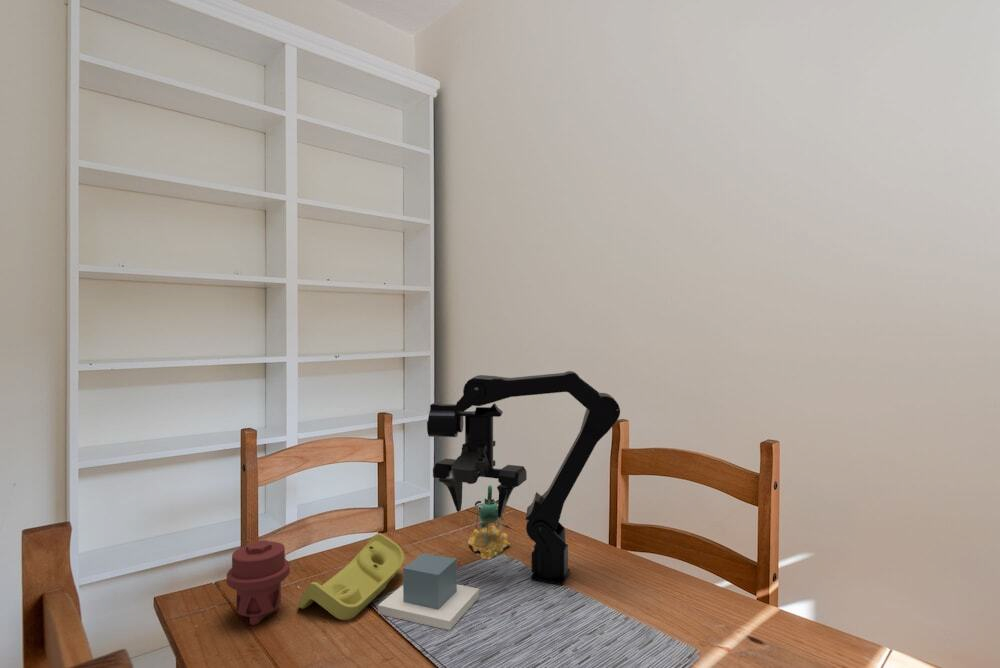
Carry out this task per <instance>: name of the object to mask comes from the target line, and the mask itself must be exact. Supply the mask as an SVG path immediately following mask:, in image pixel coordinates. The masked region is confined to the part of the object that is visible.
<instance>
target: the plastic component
mask: <svg viewBox="0 0 1000 668" xmlns="http://www.w3.org/2000/svg"><path fill="white" fill-rule="evenodd" d="M404 561H405V554H404V551H403V549H402V548H401V546H399V545H398V543H396V542H395V541H394V540H392V539H391V538H389V537H388V536H386V535H384V534H383V533H382V532H379V533H376V534H374V535H372V537H371V538H370V540H369V541H368V542H367V543H366V545H364V546H363V548H362V549H361V550H360V551H359V552H358V553H357V555H355V556H354V558H352V560H351V561H350V562H348V563H347V564H346V566H345V567H344V568H343V569H341V570H340V571H338V572H337V573H335V575H333V576H332V577H331V578H329V579H328V580H327V581H326V582H324V584H320V583H319V582H316V581H312V582H311V583H309V585H307V587H306V588H305V590H304V592H303V593H302V595H301V597H300V599H299V600H298V602H297V607H298V608H300V609H302V610H303V609H306V608H308V607H309V606H311V605H312V604H313V603H314V602H315V603H317V604H318V605H319V606H320V607H322V608H323V609H324V610H326V611H328V613H329V614H331V615H332V616H333V617H334V618H336V619H338V620H341V621H349V620H353V618H355V617H357V615H359V613H361V612H362V611H363V610H364V609H365V608H366V607H367V606H368V605H369V604H370V603H371V602H373V601H374V599H375V598H377V596H378V595H380V594H381V592H383V591H384V590H385V589H386V587H387V586H388V583H390V581H391V580H392V579H393V578H394V577H395V575H397V573H398V571H399V570H400V568H401V567H402V565H403V564H404Z"/></svg>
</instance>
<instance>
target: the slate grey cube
mask: <svg viewBox="0 0 1000 668" xmlns="http://www.w3.org/2000/svg"><path fill="white" fill-rule="evenodd" d="M457 561H458V560H457V558H454V557H448V556H443V555H437V554H432V553H427V552H423V553H421V554H420V555H419V556H417V557H415V559H414V560H412V561H411V562H409V563H408V564H407V565H405V566H404V567H403V568H402V573H403V574H402V577H403V579H402V580H403V581H402V583H403V584H402V585H403V602H406V603H410V604H415V605H419V606H424V607H428V608H433V609H437V610H439V609H440V608H441V607H442V606H443V605H444V604H445V603H446V602H447V601H448V600H449V599H450V598H451V597H452V596H453V595H454V594H455V593H456V592H457V584H458V583H457V582H458V581H457V579H458V577H457V575H458V573H457V571H458V569H457V568H458V566H457V565H458V564H457V563H458V562H457Z"/></svg>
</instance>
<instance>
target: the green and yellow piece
mask: <svg viewBox="0 0 1000 668" xmlns="http://www.w3.org/2000/svg"><path fill="white" fill-rule="evenodd" d="M492 497H493V486H492V485H490V484H488V486H487V498H486V497H485V498H484V499H483V500H484V502H483V503H482V501H481V500H477V501H476V502H475V503H474V506H475V507H476V509H477V515H476V516H477V517H476V519H475V521H476V522H478V519H480V520H479V523H480V526H479V527H480V528H479V530H478V523H476V525H475V528H474V529H473V532H471V534H470V536H469V539H468V542H467V544H468V545H469V546H471V549H473V551H474V552H477V551H478V552H480V558H481V559H482V560H484V559H485V560H486V559H487V560H492V559H494V557H495V556H498V555H500V554H502V552H503V551H504V548H505V549H506V548H507V547H509V546H510V545H511V543H510V542H509V540H508V539H509V538H508V534H507V533H506V532H502V530H500V522H503V528H506V525H505V519H504V518H503V516H502V517H500V519H501V520H500V519H499V517H498V500H499V499H497V500H496V501H495V498H492ZM478 517H479V518H478ZM493 523H494V525H493ZM497 523H498V524H497Z"/></svg>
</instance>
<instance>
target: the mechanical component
mask: <svg viewBox="0 0 1000 668" xmlns="http://www.w3.org/2000/svg"><path fill="white" fill-rule="evenodd" d="M285 547H286V546H285V545H284V544H283V543H280V542H278V541H270V540H265V539H264V540H263V539H262V540H260V539H259V540H256V541H252V542H250V543H248V544H246V545H244V546H241V547H239V548H237V549H236V550H235V551H234V552H233V553H232V554H231V568H230V569H229V570H228V571H227V573H226V585H227V586H228V587H229V588H231V589H233V590H235V591H236V613H237V614H239V615H240V616H243V617H247V618H248V617H249V625H252V626H255V625H258V624H259V623H260V622H261V621H262V620H264V618H266V617H267V616H269V615H270V614H273V613H275V612H278V611H279V608H280V605H281V602H282V595H281V594H282V587H281V586H282V585H281V583H282V582H284V580H286V578H287V577H288V576H289V575H290V573H291V564H290V562H289V560H287V559H286V556H285V555H286V554H285V552H286V551H285V549H286V548H285Z"/></svg>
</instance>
